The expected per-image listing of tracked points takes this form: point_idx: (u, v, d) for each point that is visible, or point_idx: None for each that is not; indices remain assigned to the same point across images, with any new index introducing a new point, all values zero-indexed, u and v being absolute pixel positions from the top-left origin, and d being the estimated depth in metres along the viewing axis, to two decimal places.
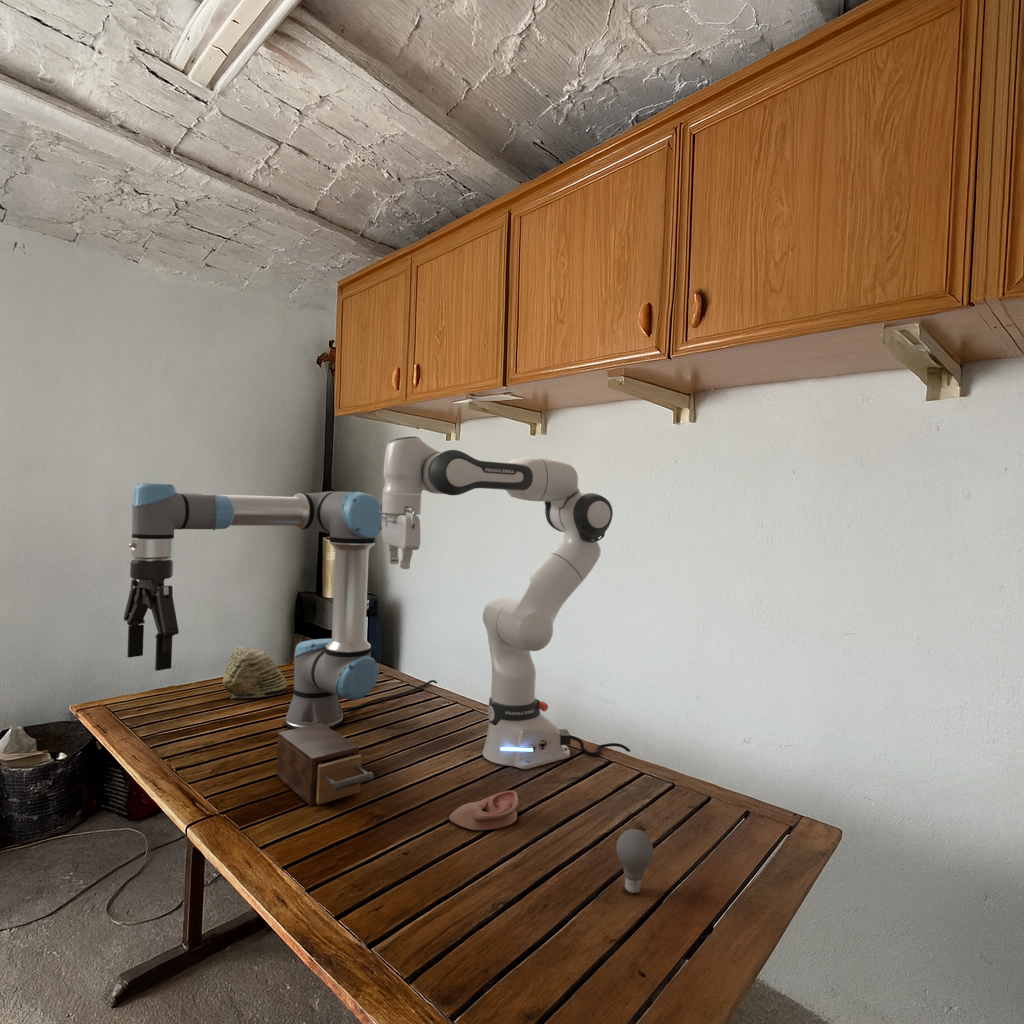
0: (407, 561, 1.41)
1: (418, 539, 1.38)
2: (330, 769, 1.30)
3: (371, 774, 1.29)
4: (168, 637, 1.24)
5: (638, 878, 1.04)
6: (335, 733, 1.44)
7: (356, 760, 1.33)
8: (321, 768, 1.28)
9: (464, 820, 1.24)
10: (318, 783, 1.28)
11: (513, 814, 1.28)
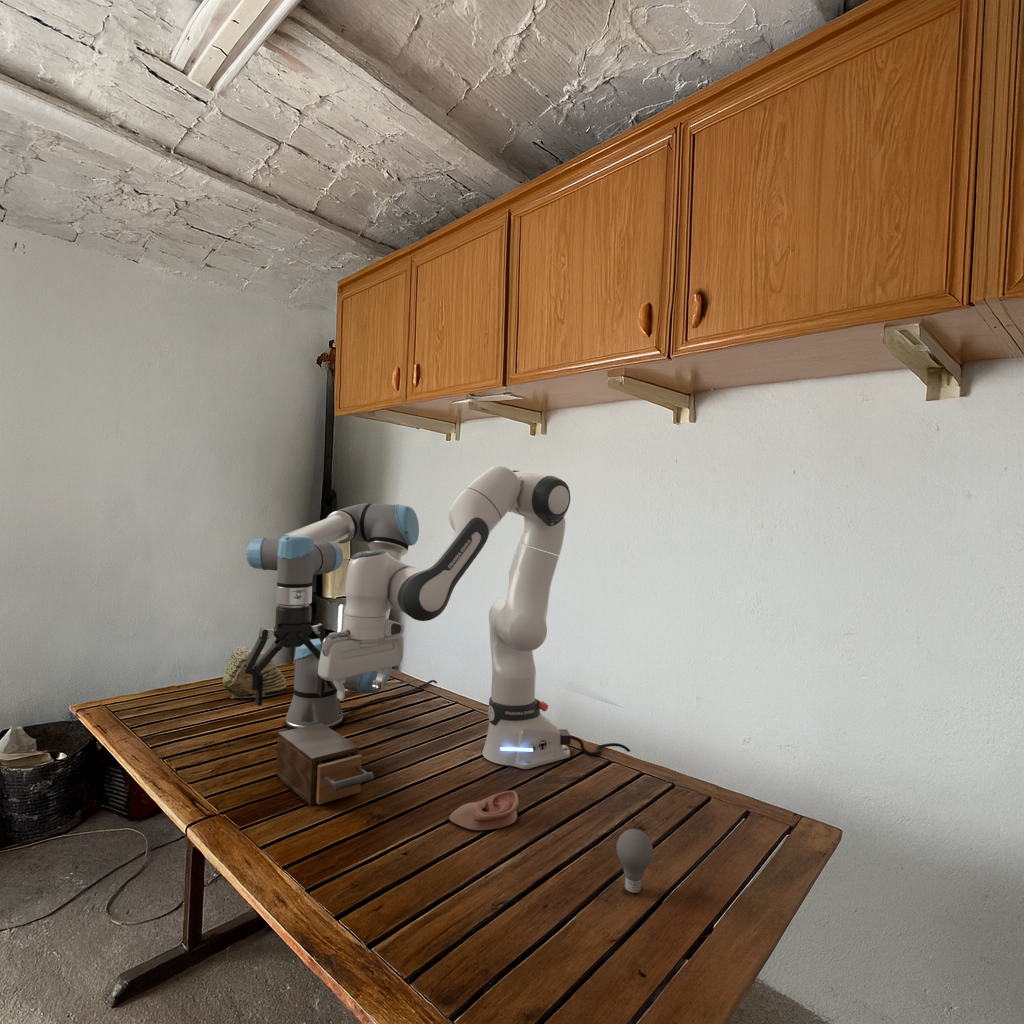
0: (340, 690, 1.27)
1: (327, 669, 1.23)
2: (330, 769, 1.30)
3: (371, 774, 1.29)
4: None
5: (638, 878, 1.04)
6: (335, 733, 1.44)
7: (356, 760, 1.33)
8: (321, 768, 1.28)
9: (464, 820, 1.24)
10: (318, 783, 1.28)
11: (513, 814, 1.28)
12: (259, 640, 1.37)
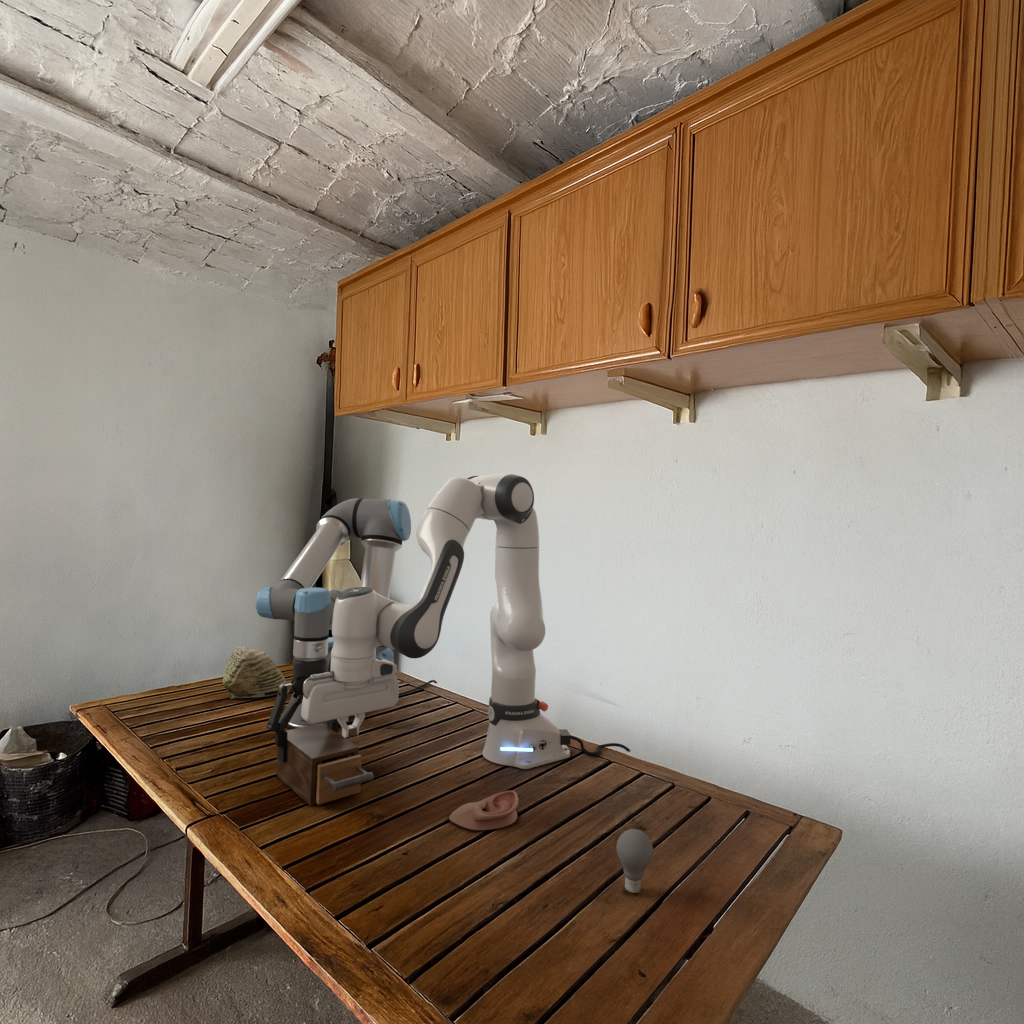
0: (344, 728, 1.28)
1: (307, 712, 1.21)
2: (330, 769, 1.30)
3: (371, 774, 1.29)
4: None
5: (638, 878, 1.04)
6: (335, 733, 1.44)
7: (356, 760, 1.33)
8: (321, 768, 1.28)
9: (464, 820, 1.24)
10: (318, 783, 1.28)
11: (513, 814, 1.28)
12: (279, 697, 1.38)
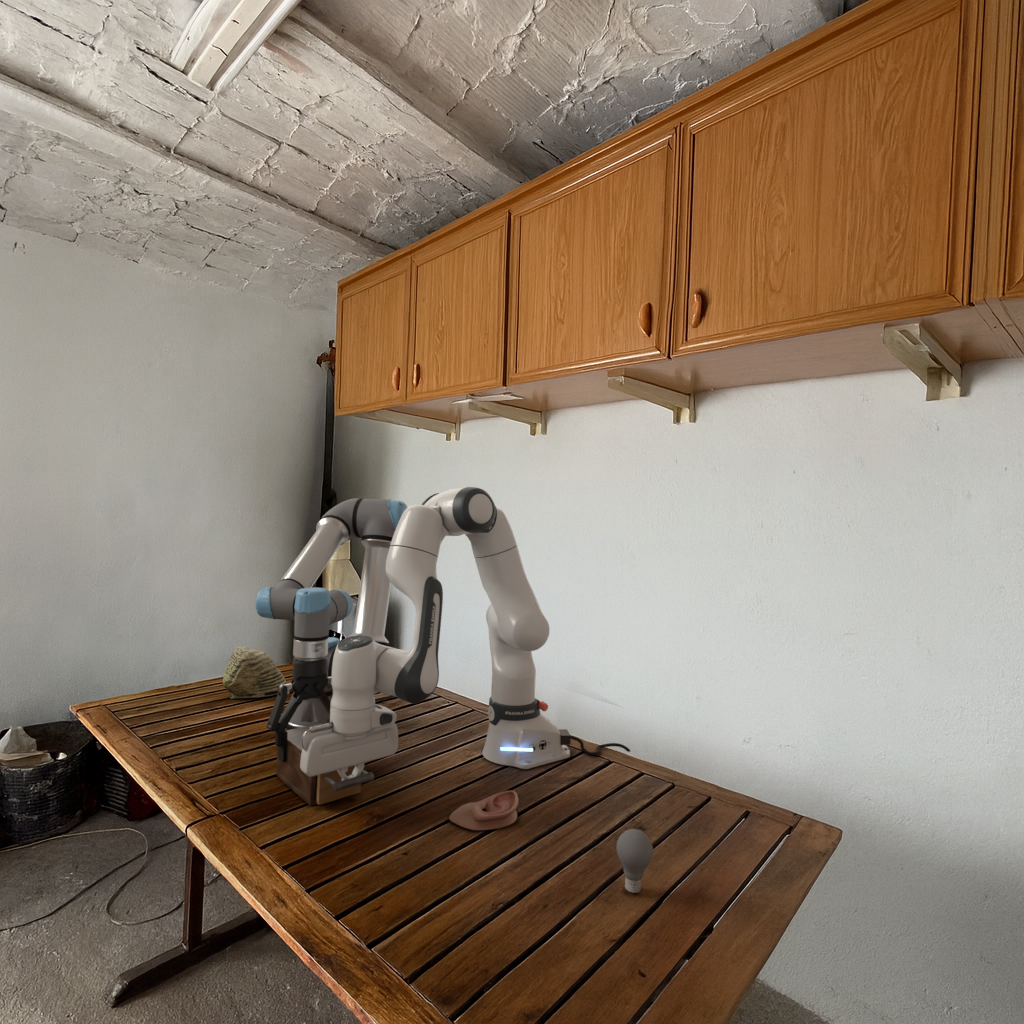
0: (343, 778, 1.27)
1: (306, 765, 1.21)
2: None
3: (371, 774, 1.29)
4: None
5: (638, 878, 1.04)
6: None
7: None
8: None
9: (464, 820, 1.24)
10: (318, 783, 1.28)
11: (513, 814, 1.28)
12: (279, 697, 1.38)
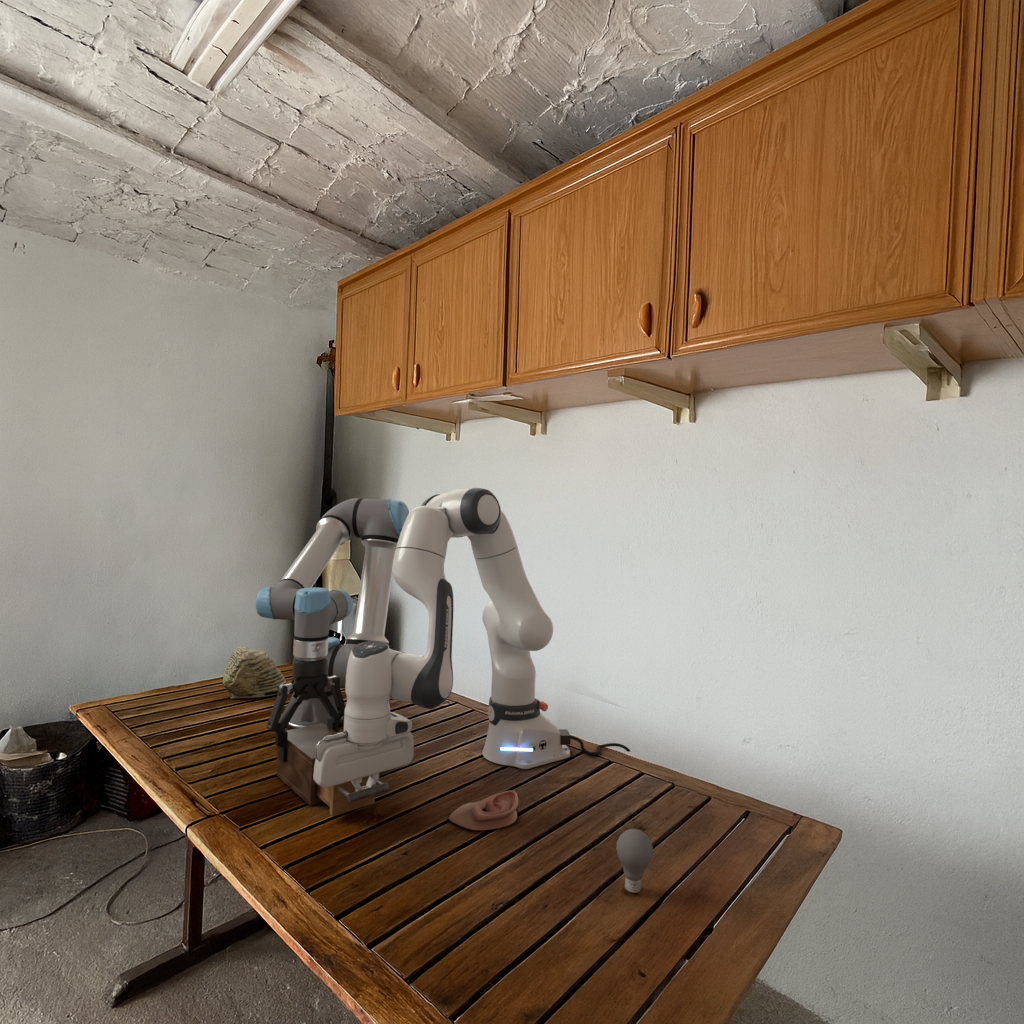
0: (357, 789, 1.23)
1: (319, 776, 1.16)
2: None
3: (386, 785, 1.25)
4: None
5: (638, 878, 1.04)
6: (335, 733, 1.43)
7: None
8: None
9: (464, 820, 1.24)
10: (332, 794, 1.24)
11: (513, 814, 1.28)
12: (279, 697, 1.38)
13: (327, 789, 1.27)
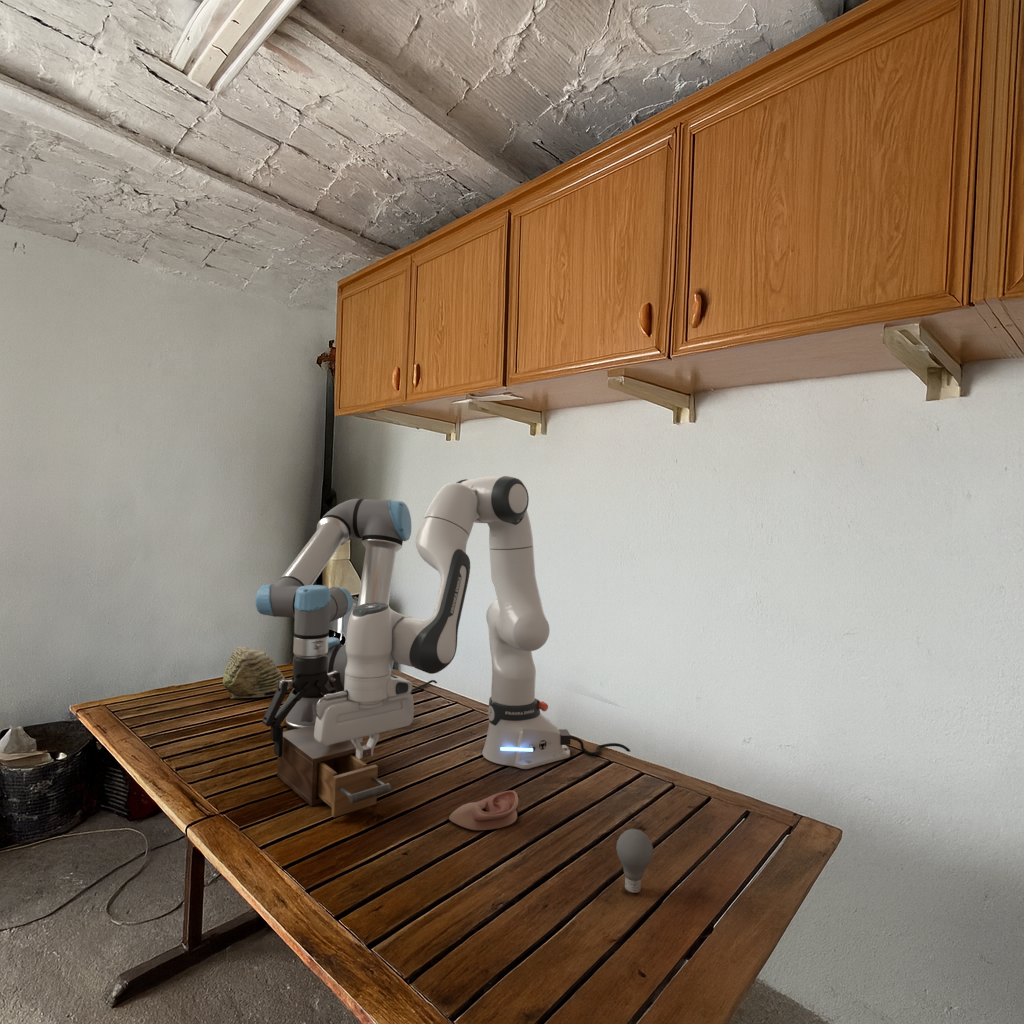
0: (357, 749, 1.23)
1: (320, 734, 1.17)
2: (346, 780, 1.25)
3: (388, 785, 1.25)
4: None
5: (638, 878, 1.04)
6: None
7: (372, 771, 1.29)
8: (336, 779, 1.23)
9: (464, 820, 1.24)
10: (333, 795, 1.24)
11: (513, 814, 1.28)
12: (278, 692, 1.38)
13: (329, 790, 1.27)
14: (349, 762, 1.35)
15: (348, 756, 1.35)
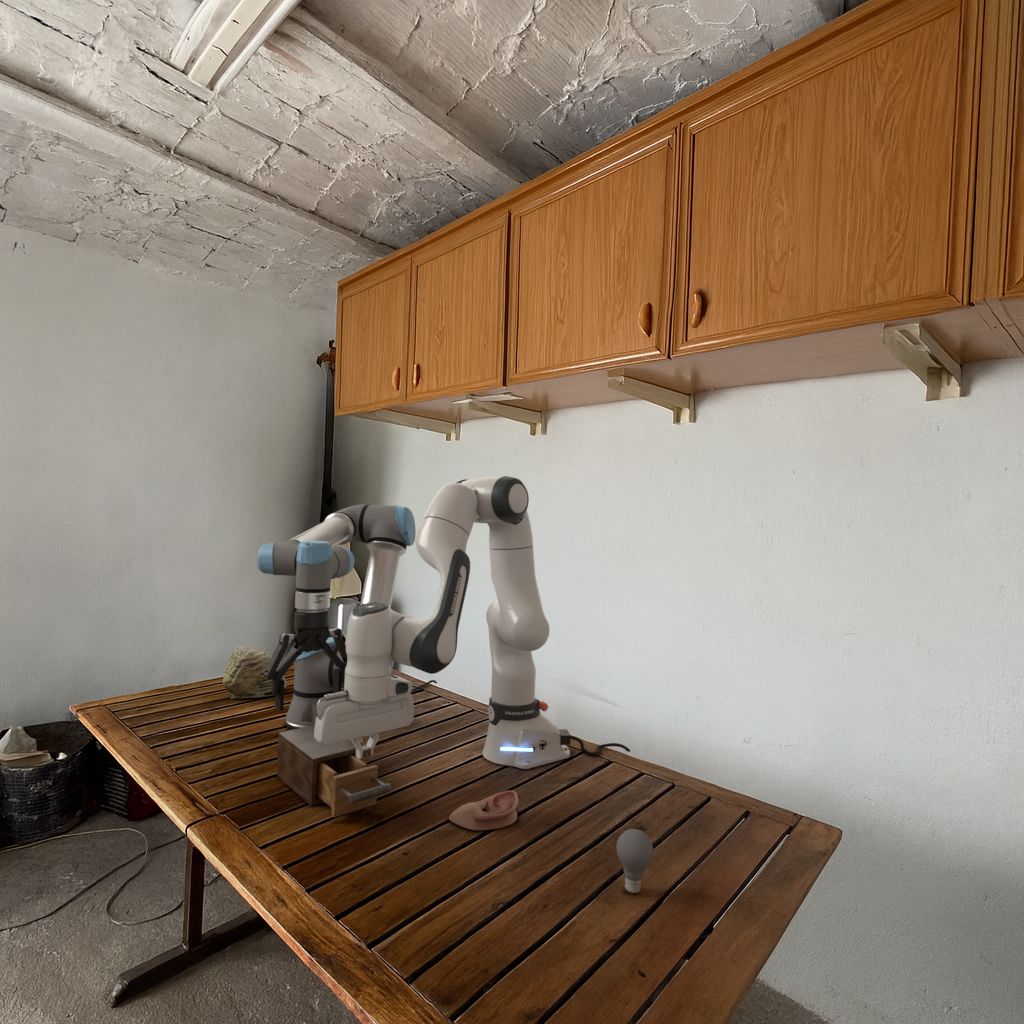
0: (357, 749, 1.23)
1: (320, 734, 1.17)
2: (346, 780, 1.25)
3: (388, 786, 1.25)
4: None
5: (638, 878, 1.04)
6: None
7: (372, 771, 1.29)
8: (336, 779, 1.23)
9: (464, 820, 1.24)
10: (333, 795, 1.24)
11: (513, 814, 1.28)
12: (280, 645, 1.38)
13: (329, 790, 1.27)
14: (349, 762, 1.35)
15: (348, 756, 1.35)
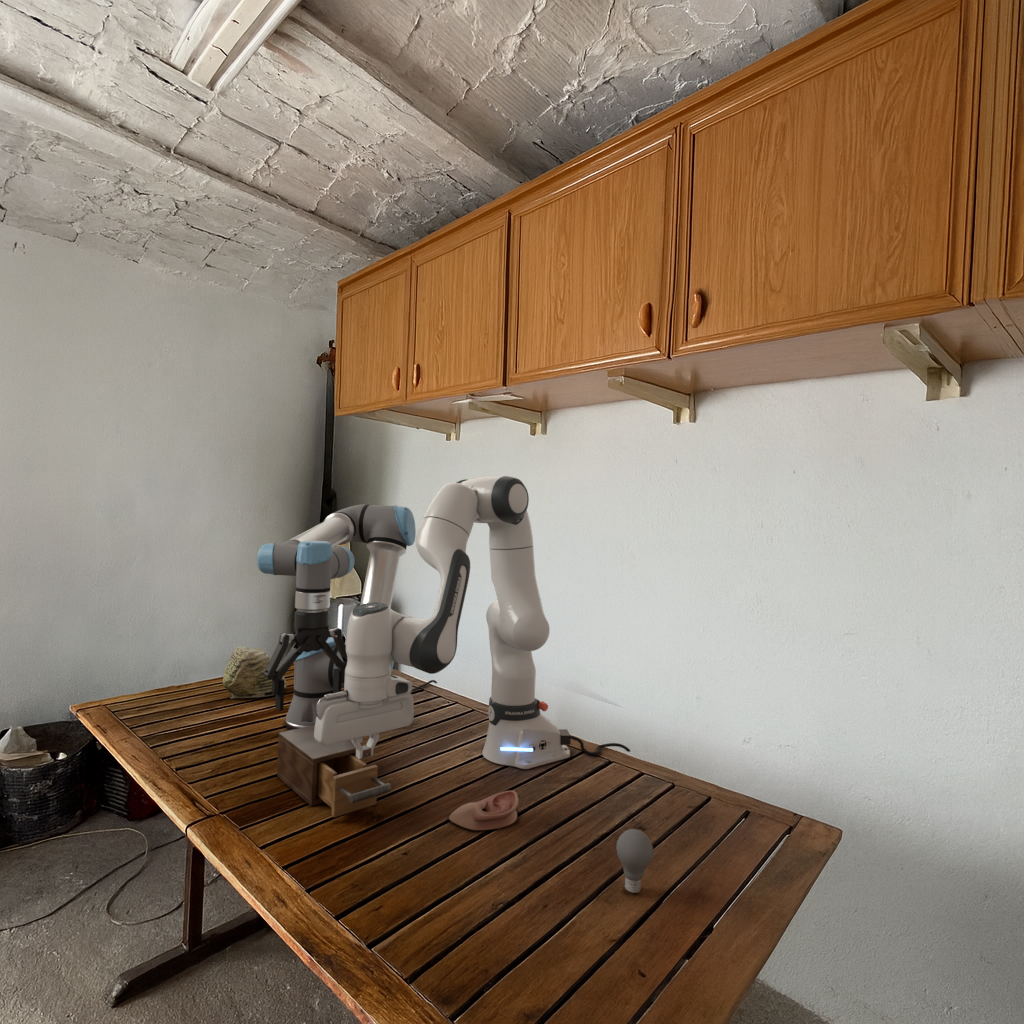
0: (357, 749, 1.23)
1: (320, 734, 1.17)
2: (346, 780, 1.25)
3: (388, 786, 1.25)
4: None
5: (638, 878, 1.04)
6: None
7: (372, 771, 1.29)
8: (336, 779, 1.23)
9: (464, 820, 1.24)
10: (333, 795, 1.24)
11: (513, 814, 1.28)
12: (280, 645, 1.38)
13: (329, 790, 1.27)
14: (349, 762, 1.35)
15: (348, 756, 1.35)
